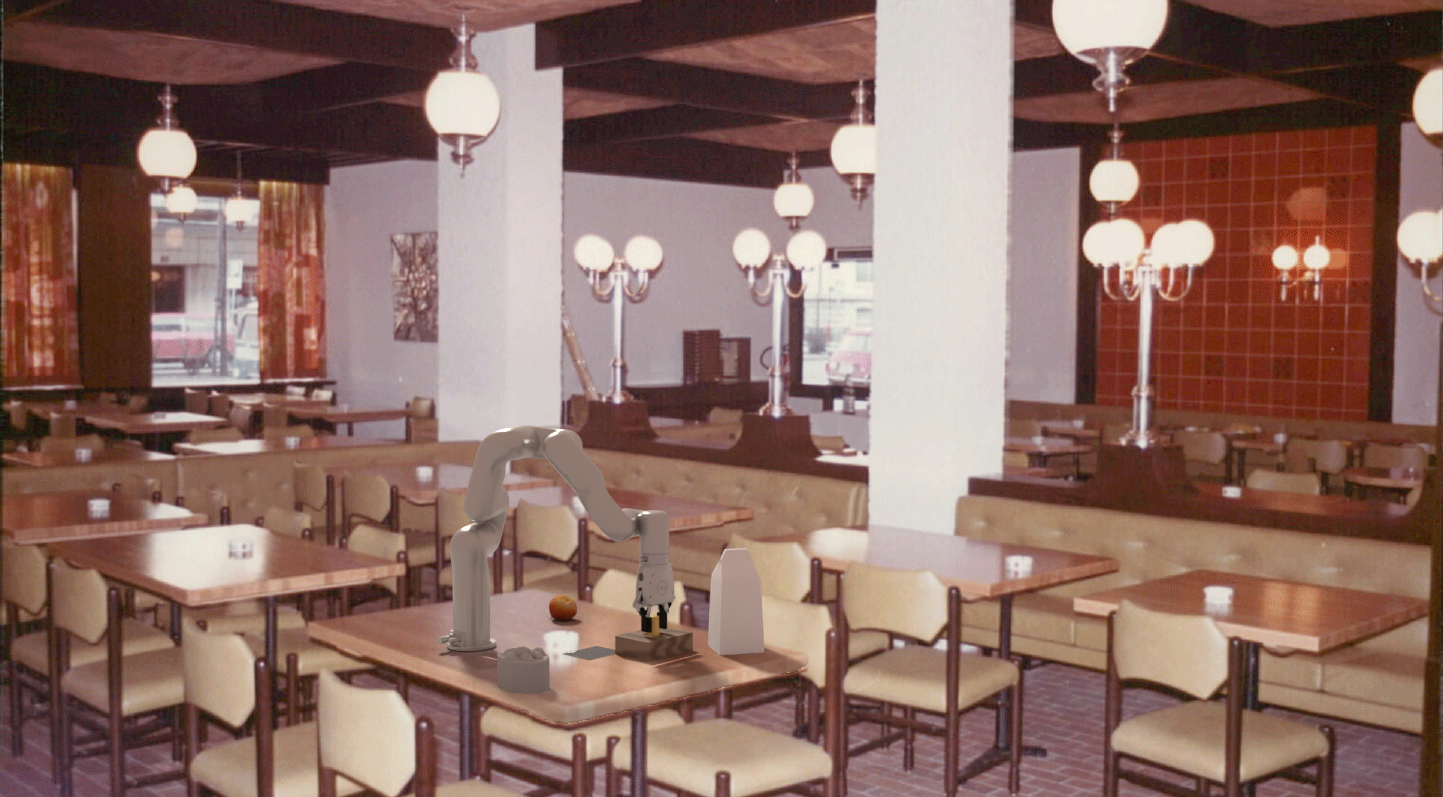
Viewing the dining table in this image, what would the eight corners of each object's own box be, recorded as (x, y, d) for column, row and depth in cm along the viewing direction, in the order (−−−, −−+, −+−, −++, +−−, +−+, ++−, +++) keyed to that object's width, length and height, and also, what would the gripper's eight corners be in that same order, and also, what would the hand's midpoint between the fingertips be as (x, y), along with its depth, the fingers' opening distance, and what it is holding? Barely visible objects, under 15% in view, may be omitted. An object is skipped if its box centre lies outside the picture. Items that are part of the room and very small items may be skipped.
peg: (654, 655, 331) (653, 618, 331) (645, 653, 333) (644, 617, 333) (662, 653, 334) (661, 616, 333) (653, 651, 336) (652, 614, 335)
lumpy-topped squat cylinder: (530, 678, 309) (530, 641, 309) (560, 689, 299) (560, 651, 299) (491, 685, 303) (491, 648, 302) (521, 697, 293) (521, 658, 292)
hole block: (649, 663, 324) (649, 643, 323) (615, 655, 332) (615, 635, 331) (692, 651, 336) (692, 632, 336) (659, 644, 344) (659, 625, 343)
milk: (719, 655, 332) (719, 553, 331) (707, 645, 343) (708, 546, 342) (764, 652, 335) (764, 551, 334) (751, 642, 346) (751, 544, 345)
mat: (589, 661, 325) (589, 660, 325) (562, 655, 331) (562, 653, 331) (623, 653, 334) (623, 651, 334) (596, 647, 340) (596, 645, 340)
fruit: (557, 610, 381) (567, 588, 378) (574, 627, 377) (585, 605, 374) (537, 614, 374) (548, 592, 372) (555, 631, 371) (566, 609, 368)
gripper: (641, 565, 324) (641, 638, 325) (687, 556, 337) (687, 627, 337) (620, 561, 329) (620, 633, 329) (666, 553, 342) (666, 622, 342)
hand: (654, 629), depth 333 cm, fingers open, 4 cm apart
